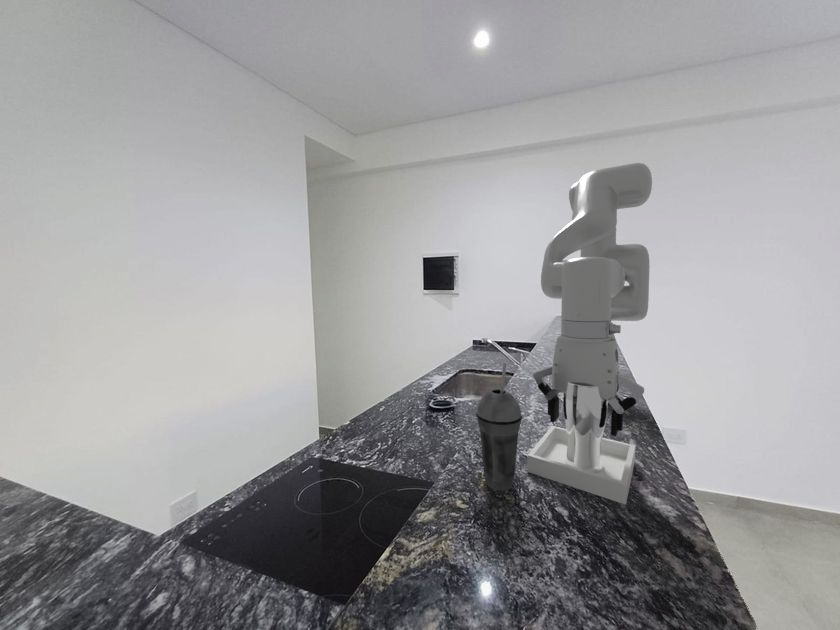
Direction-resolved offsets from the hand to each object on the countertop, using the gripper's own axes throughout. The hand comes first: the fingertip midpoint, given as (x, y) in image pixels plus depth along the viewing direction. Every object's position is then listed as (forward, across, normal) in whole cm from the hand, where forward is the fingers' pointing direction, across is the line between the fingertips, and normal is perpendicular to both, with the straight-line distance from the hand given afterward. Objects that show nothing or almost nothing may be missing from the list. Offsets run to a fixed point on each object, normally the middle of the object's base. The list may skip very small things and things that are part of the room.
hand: (583, 426), depth 57 cm
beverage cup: (+8, +10, +13) cm, 18 cm away
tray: (+7, 0, 0) cm, 7 cm away
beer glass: (+7, 0, 0) cm, 7 cm away
